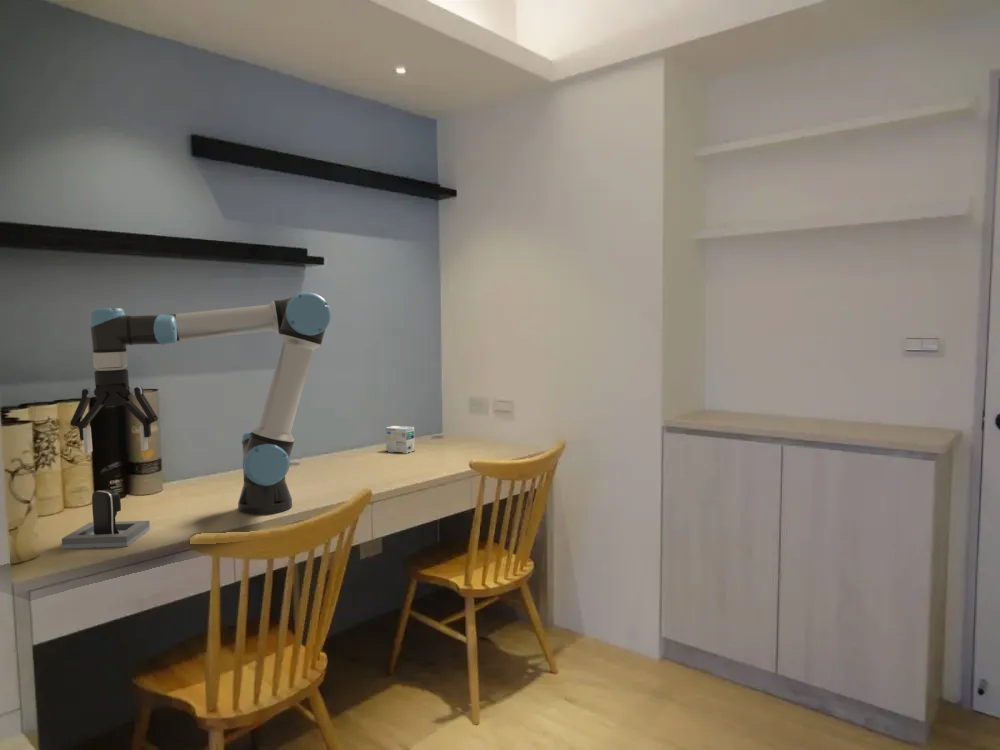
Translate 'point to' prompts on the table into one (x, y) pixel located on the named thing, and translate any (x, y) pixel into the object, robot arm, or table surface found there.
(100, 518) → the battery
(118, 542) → the dock
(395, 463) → the table surface
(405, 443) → the light bulb box
